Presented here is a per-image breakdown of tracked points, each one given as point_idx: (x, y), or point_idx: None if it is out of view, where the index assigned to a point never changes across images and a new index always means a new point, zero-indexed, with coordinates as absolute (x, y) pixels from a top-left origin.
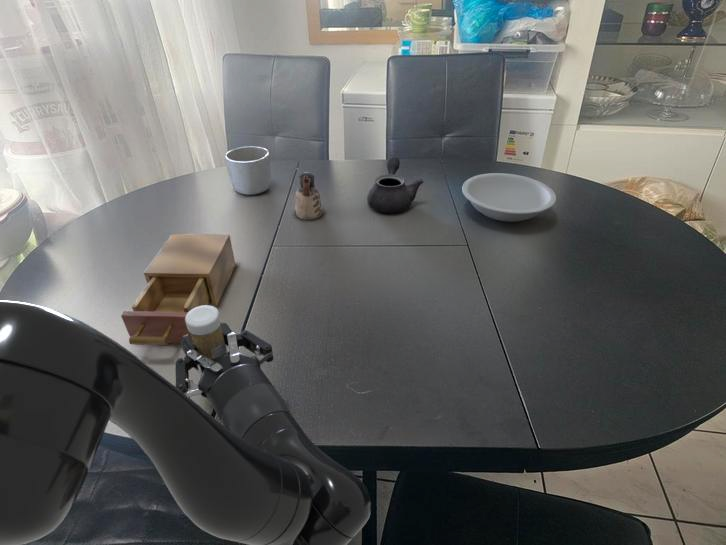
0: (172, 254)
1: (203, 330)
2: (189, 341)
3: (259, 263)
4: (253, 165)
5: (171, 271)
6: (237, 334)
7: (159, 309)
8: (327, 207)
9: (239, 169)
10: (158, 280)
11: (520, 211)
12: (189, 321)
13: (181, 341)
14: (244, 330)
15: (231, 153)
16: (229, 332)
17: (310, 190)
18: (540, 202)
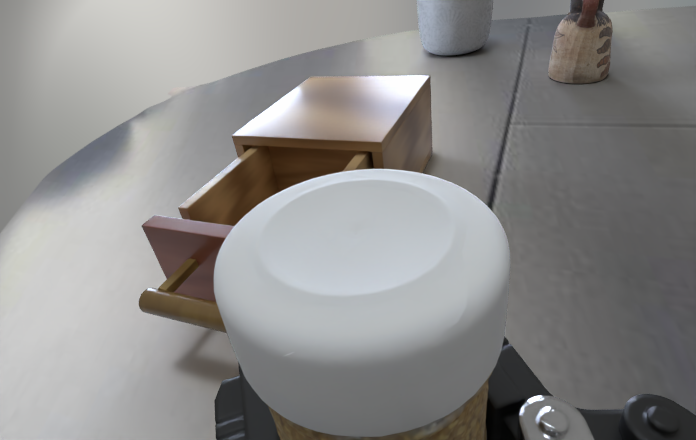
0: (302, 105)
1: (357, 402)
2: (260, 407)
3: (486, 152)
4: None
5: (291, 134)
6: (583, 412)
7: None
8: (614, 66)
9: (440, 1)
10: (263, 157)
11: None
12: (237, 280)
13: (223, 387)
14: (648, 396)
15: None
16: (517, 381)
17: (596, 15)
18: None
